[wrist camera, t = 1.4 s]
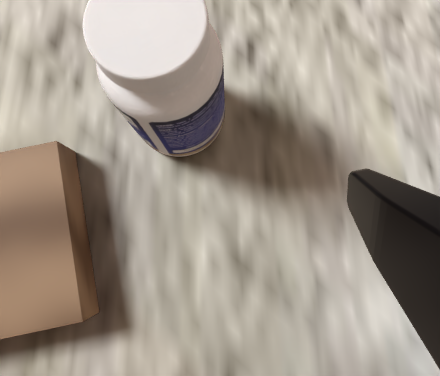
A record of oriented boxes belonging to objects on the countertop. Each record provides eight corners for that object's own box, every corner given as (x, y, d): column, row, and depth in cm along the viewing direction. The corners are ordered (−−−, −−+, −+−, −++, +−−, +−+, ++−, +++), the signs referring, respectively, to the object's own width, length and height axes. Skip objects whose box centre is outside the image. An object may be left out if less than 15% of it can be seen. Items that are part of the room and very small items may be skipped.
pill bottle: (233, 82, 23) (238, -36, 13) (214, 166, 22) (204, 108, 12) (147, 65, 23) (89, -62, 13) (126, 148, 22) (47, 77, 13)
